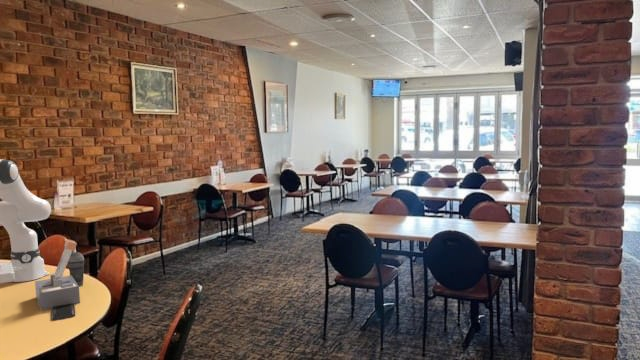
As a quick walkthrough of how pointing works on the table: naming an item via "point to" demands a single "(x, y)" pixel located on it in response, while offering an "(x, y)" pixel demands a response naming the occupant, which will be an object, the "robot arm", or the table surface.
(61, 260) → the lever
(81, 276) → the beverage cup
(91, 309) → the table surface
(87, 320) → the table surface
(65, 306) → the phone
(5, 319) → the table surface
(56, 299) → the switch box
